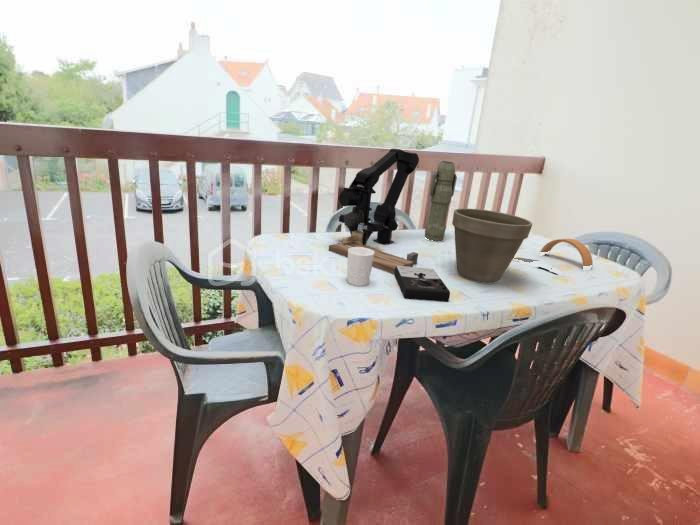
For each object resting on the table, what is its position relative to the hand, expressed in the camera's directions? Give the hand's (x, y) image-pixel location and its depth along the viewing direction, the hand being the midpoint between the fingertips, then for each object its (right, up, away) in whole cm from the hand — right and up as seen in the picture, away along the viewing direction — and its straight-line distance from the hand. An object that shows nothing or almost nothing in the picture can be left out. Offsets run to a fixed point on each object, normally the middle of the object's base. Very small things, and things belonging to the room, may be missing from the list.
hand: (358, 243), depth 150 cm
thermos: (+35, +3, +23) cm, 42 cm away
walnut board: (+5, -6, -11) cm, 14 cm away
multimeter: (+18, -16, -34) cm, 42 cm away
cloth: (+72, -10, -1) cm, 73 cm away
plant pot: (+42, -13, -19) cm, 47 cm away
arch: (+87, -8, +8) cm, 88 cm away
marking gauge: (-2, -2, -2) cm, 4 cm away
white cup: (-1, -14, -35) cm, 38 cm away
